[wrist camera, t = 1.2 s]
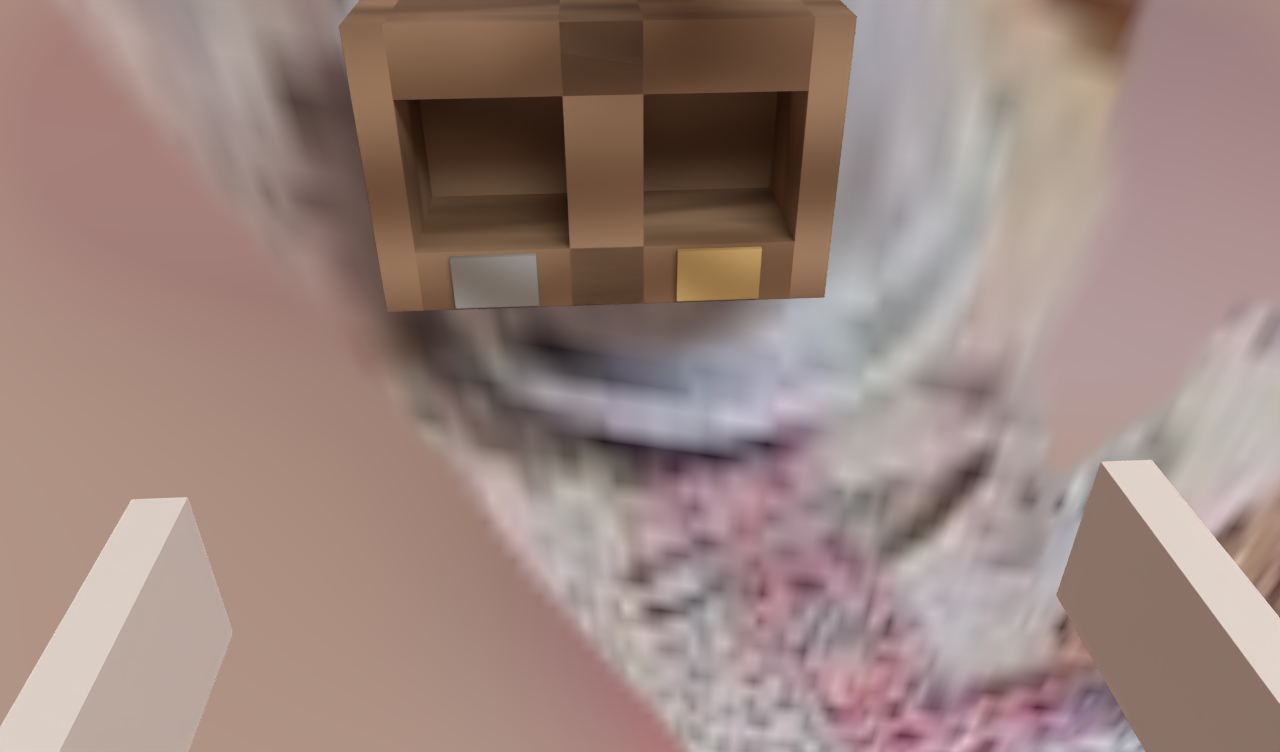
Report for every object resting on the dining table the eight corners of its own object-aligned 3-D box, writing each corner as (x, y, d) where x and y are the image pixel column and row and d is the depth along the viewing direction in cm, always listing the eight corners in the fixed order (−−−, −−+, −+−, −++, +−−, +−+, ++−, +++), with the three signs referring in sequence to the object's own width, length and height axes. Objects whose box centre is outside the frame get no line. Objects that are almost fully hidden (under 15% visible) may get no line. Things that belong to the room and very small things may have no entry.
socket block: (372, -16, 34) (337, 27, 29) (815, -23, 35) (858, 18, 30) (410, 244, 40) (387, 319, 35) (792, 233, 41) (824, 304, 36)
